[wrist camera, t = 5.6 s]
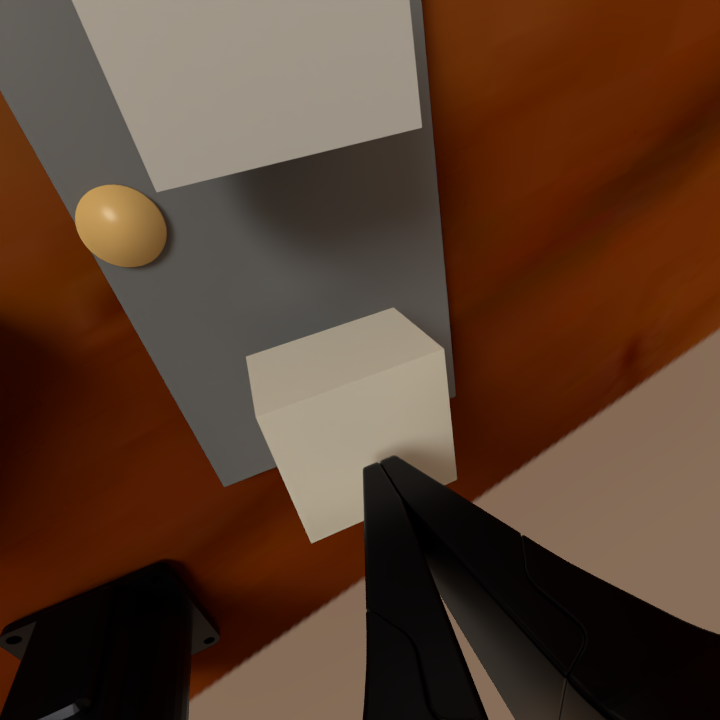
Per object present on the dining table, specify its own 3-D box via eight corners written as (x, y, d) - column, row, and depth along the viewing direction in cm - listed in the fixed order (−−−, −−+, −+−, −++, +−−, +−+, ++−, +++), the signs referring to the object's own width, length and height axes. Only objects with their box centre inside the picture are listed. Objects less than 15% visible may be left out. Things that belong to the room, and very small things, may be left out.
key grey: (364, 136, 9) (422, 128, 7) (173, 182, 8) (156, 192, 6) (317, -149, 7) (376, -327, 4) (47, -123, 6) (-71, -323, 4)
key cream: (412, 421, 14) (457, 479, 11) (292, 468, 13) (311, 543, 10) (393, 307, 11) (444, 348, 9) (245, 356, 11) (255, 417, 8)
